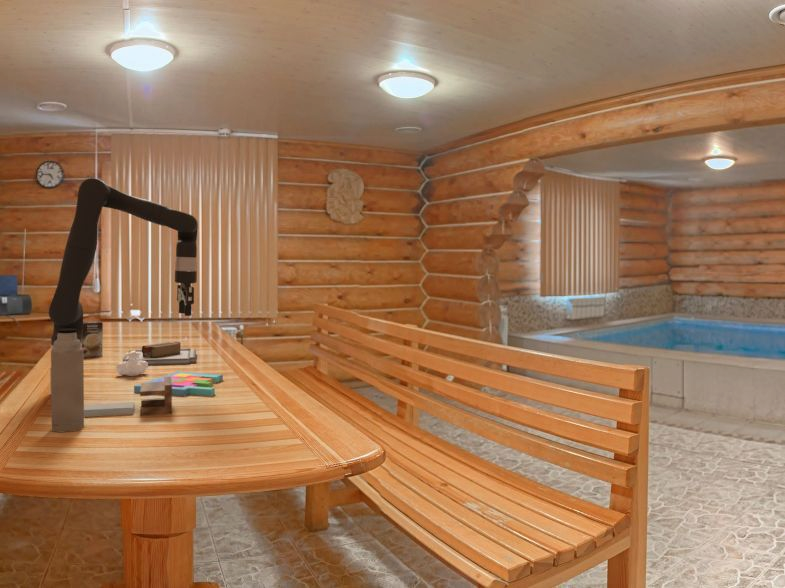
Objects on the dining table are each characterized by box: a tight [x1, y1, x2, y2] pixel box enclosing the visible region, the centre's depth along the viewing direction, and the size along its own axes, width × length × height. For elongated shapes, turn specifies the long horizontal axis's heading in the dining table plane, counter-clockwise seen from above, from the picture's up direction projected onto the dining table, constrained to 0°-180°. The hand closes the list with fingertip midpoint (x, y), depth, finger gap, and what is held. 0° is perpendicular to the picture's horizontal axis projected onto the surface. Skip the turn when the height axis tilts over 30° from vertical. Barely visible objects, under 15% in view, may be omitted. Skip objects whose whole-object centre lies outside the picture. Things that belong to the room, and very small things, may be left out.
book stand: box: [122, 341, 197, 366], centre depth 280 cm, size 30×30×8 cm
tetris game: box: [133, 371, 224, 397], centre depth 225 cm, size 28×3×28 cm
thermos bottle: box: [50, 329, 85, 432], centre depth 168 cm, size 8×8×28 cm
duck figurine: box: [115, 351, 149, 377], centre depth 242 cm, size 12×8×11 cm
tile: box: [84, 401, 136, 418], centre depth 187 cm, size 14×7×2 cm, turn 109°
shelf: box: [139, 377, 173, 416], centre depth 191 cm, size 9×13×9 cm
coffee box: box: [82, 320, 104, 358], centre depth 283 cm, size 9×6×16 cm
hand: (184, 314), depth 218 cm, fingers open, 8 cm apart
